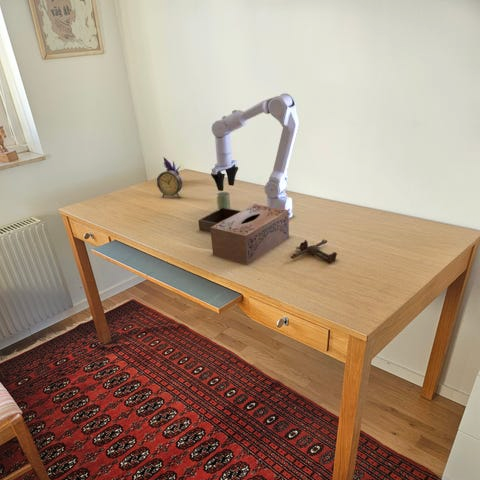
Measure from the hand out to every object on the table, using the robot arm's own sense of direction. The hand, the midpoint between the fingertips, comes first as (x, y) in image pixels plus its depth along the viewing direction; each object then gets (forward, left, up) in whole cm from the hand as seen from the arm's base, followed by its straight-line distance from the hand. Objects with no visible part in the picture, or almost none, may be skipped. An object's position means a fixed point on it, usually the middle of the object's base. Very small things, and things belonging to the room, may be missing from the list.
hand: (226, 187), depth 180 cm
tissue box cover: (-27, +25, -10) cm, 38 cm away
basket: (-9, +15, -10) cm, 20 cm away
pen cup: (+1, +2, -10) cm, 10 cm away
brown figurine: (-50, +22, -10) cm, 56 cm away
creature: (+51, -22, -10) cm, 57 cm away
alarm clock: (+35, -5, -10) cm, 37 cm away
